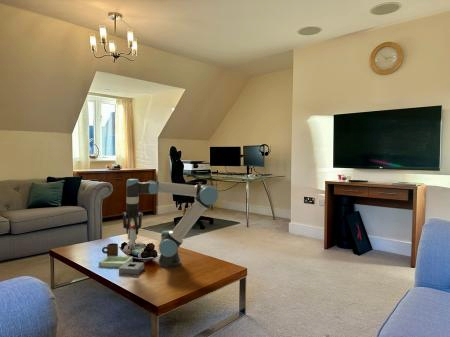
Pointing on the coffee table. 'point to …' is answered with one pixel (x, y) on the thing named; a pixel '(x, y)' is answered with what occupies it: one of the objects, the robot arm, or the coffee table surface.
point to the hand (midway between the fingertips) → (132, 239)
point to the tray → (114, 261)
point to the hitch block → (131, 268)
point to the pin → (131, 236)
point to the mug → (111, 249)
